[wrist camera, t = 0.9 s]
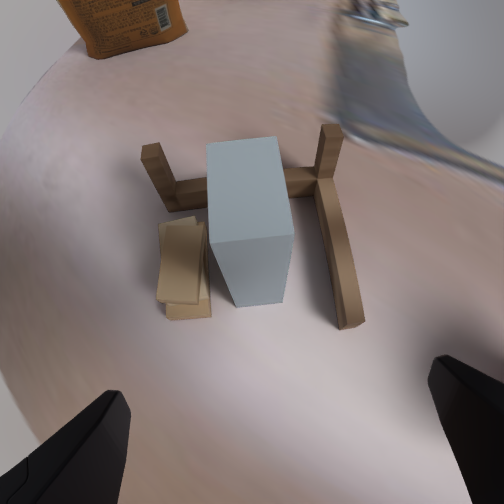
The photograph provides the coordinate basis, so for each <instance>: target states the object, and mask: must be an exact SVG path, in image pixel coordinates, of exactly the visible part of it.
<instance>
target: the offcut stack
mask: <svg viewBox="0 0 504 504" xmlns="http://www.w3.org/2000/svg"><path fill="white" fill-rule="evenodd" d="M158 230H159V242H160V253H161V265H160V272H159V279H158V287H157V294H156V300H158V301H159V302H160V303H166V318H168V319H169V320H182V319H195V318H207V317H211V303H210V286H209V269H208V249H207V227H206V225H205V222H197V220H196V218H195V216H191V217H186V218H182V219H177V220H173V221H169V222H164V223H160V224H158Z"/></svg>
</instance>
